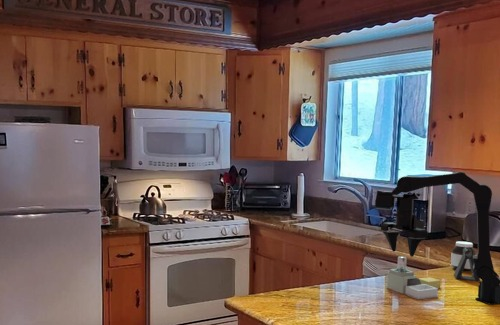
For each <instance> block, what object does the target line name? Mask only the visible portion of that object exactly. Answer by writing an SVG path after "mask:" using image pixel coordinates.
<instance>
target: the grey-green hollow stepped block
mask: <svg viewBox="0 0 500 325" xmlns="http://www.w3.org/2000/svg"><path fill="white" fill-rule="evenodd" d="M386 277H387V282H386V283H387V284H386V288H387V289H389V290H392V291H395V292H397V293H400V294H406V286H413V285H421V282H420V280H419V279H418V277H417V275H415V272H414V271H411V270H409V269H406V272H402V273H401V272H398V271H397V268H390V269H389V271H387V276H386Z"/></svg>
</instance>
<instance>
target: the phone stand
mask: <svg viewBox="0 0 500 325" xmlns="http://www.w3.org/2000/svg"><path fill="white" fill-rule="evenodd" d="M468 249H469V248H468ZM469 250H470V249H469ZM467 251H468V250H467V249H466V248H464V249H463V255H462V257H461V260H460V262H459V264H458V266H457V269H455V271H454V273H453V276H454V278H455V280H460V281H471V282H472V281H474V282H480V281H481V279H480V278H479V277H478V276H477V275H476V271H475V270H473V265H474V261H473V252H472V251H471V250H470V253H469V254H467V255H466V252H467ZM467 259H469V263H470V267H471V271H470V272H471V276H469V275H463V273H464V271H463V270H464V267H465V264H466V261H467Z"/></svg>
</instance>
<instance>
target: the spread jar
mask: <svg viewBox="0 0 500 325" xmlns="http://www.w3.org/2000/svg"><path fill="white" fill-rule="evenodd" d="M473 247H474V244H473V242H469V241H463V240H462V241H456V242H455V246H454V247H453V248H452V250H451V253H450V254H451V256H450V263H451V267H453V269H455V270H456V269H457V266H458V264H459V262H460V260H461V257H462V255H463V249H464V248H466V249H467V250H468V251H467V252H466V255H467V254H469V253H470V250H471V251H472V252H473V255H474V256H477V252H476V250H475V249H474V248H473ZM468 248H469V249H470V250H469V249H468ZM463 272H471V267H470V263H469V259H467V261H466V264H465V267H464V270H463Z"/></svg>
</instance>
